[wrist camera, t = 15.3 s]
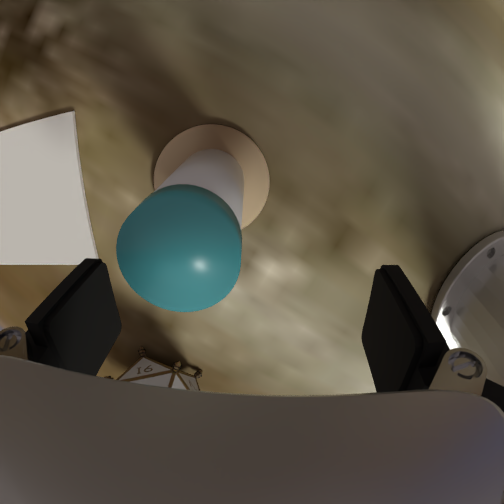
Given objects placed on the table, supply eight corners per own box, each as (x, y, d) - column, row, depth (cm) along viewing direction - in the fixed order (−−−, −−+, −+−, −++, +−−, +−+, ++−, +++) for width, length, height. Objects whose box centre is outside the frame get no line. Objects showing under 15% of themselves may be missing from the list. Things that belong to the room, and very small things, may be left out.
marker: (244, 146, 16) (238, 195, 8) (246, 212, 18) (242, 312, 10) (175, 149, 16) (106, 201, 8) (180, 214, 18) (129, 310, 10)
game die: (156, 345, 28) (71, 403, 21) (180, 305, 22) (61, 381, 15) (221, 418, 26) (141, 487, 19) (265, 400, 21) (161, 499, 14)
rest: (268, 122, 16) (269, 122, 16) (269, 232, 19) (269, 235, 19) (150, 128, 16) (148, 129, 16) (162, 235, 19) (160, 238, 19)
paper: (74, 111, 15) (72, 111, 15) (99, 262, 20) (98, 264, 20) (-40, 147, 15) (-43, 147, 15) (-13, 262, 20) (-15, 264, 20)
